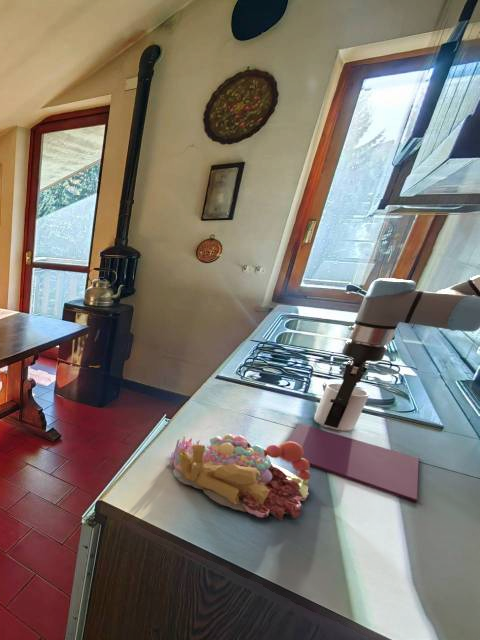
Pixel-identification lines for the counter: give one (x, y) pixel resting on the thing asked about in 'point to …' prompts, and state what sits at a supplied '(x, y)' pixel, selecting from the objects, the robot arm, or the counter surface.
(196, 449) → the food platter
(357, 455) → the mat
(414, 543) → the counter surface
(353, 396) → the cup
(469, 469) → the counter surface
